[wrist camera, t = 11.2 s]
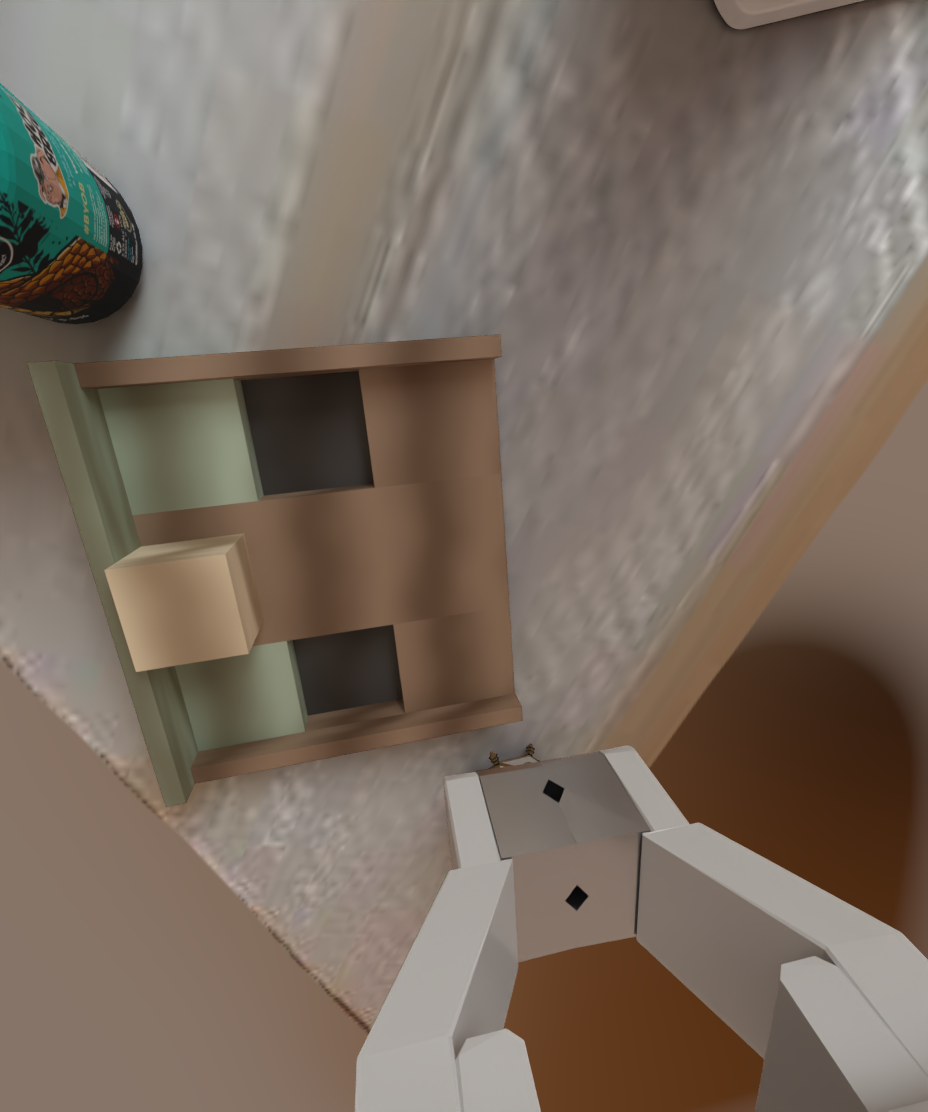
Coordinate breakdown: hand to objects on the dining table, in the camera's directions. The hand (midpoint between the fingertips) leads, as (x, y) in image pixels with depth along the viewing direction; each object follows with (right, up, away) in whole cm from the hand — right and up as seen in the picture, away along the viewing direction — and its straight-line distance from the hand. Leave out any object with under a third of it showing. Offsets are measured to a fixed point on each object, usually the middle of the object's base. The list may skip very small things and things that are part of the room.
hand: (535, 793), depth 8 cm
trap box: (-9, +4, +22) cm, 24 cm away
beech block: (-15, +2, +19) cm, 24 cm away
